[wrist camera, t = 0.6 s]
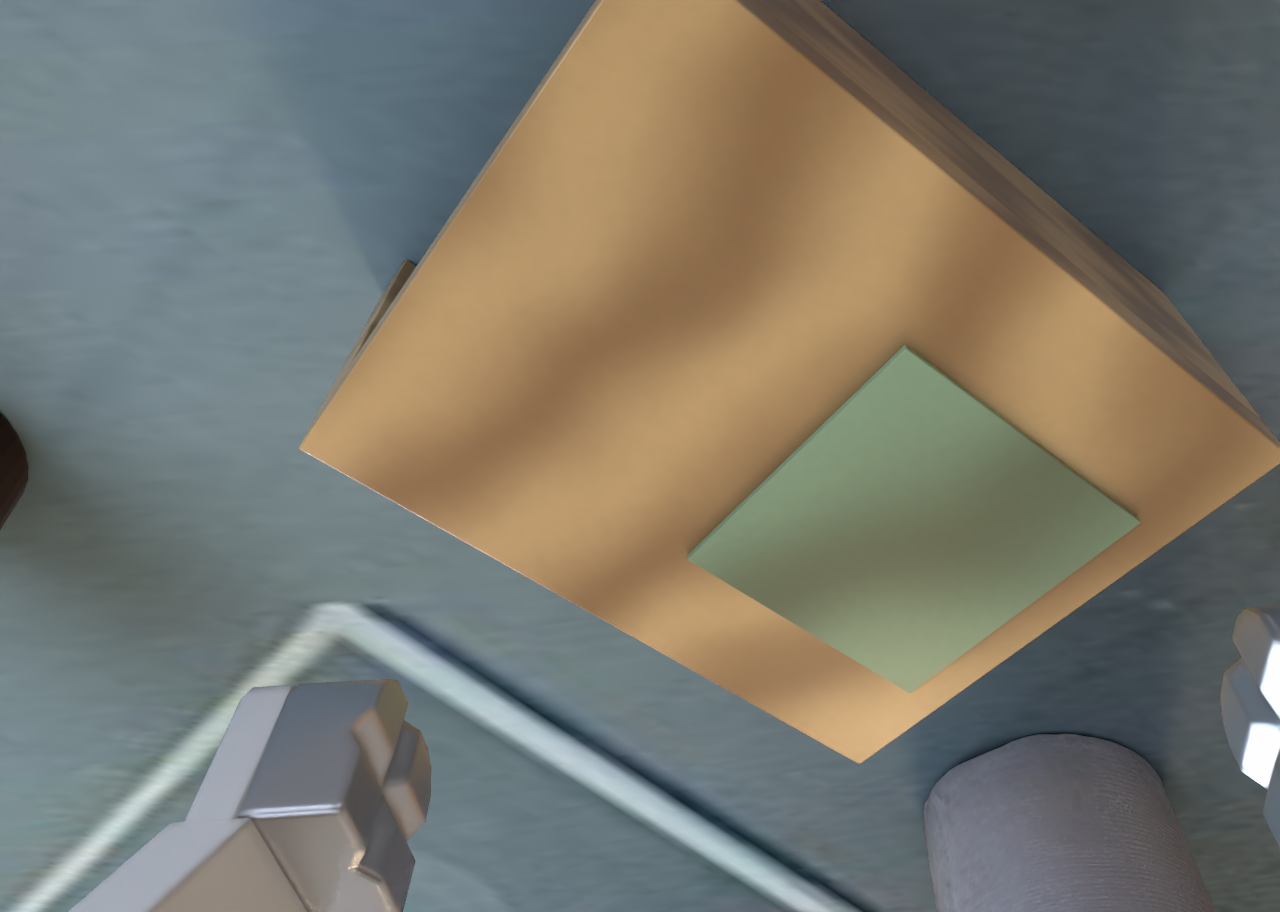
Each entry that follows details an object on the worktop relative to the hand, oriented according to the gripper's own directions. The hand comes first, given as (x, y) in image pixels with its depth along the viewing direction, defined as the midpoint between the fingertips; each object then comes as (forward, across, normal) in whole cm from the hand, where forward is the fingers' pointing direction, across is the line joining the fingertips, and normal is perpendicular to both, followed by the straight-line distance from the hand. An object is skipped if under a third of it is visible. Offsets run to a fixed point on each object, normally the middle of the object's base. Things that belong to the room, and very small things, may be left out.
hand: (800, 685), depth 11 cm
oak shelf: (+21, 0, +6) cm, 22 cm away
